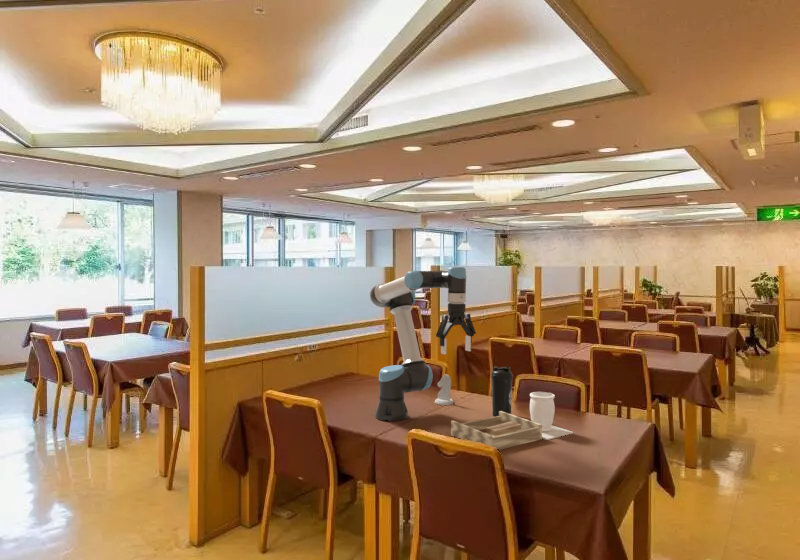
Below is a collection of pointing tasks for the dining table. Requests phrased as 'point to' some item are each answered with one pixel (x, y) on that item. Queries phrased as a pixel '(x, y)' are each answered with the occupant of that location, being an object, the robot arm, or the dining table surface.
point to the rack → (527, 434)
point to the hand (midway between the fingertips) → (455, 352)
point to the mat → (555, 433)
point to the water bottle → (501, 390)
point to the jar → (542, 409)
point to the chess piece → (444, 391)
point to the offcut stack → (503, 429)
